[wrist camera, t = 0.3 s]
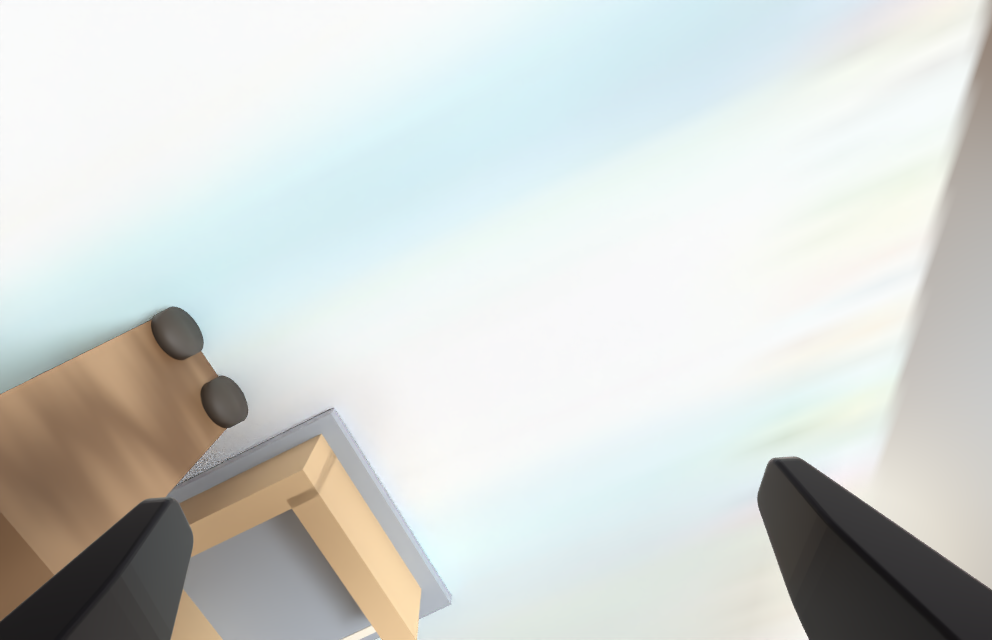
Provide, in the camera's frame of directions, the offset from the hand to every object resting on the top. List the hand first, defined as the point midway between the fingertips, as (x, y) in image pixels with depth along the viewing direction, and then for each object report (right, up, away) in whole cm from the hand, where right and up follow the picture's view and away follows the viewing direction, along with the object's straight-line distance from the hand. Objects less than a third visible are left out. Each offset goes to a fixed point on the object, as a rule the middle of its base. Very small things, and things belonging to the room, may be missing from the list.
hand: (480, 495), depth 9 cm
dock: (-10, -8, +18) cm, 22 cm away
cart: (-14, 0, +15) cm, 21 cm away
